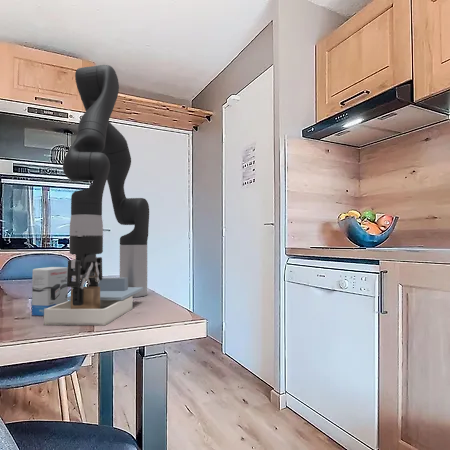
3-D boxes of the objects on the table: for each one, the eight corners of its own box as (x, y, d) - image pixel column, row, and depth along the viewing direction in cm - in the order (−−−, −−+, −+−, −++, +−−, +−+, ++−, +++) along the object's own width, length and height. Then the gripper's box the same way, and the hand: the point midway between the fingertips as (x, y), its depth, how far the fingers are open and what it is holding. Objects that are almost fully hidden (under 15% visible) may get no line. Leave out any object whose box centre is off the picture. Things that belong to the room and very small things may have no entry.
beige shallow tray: (82, 308, 103) (82, 295, 104) (132, 308, 103) (132, 295, 103) (43, 324, 84) (44, 309, 84) (105, 325, 83) (105, 309, 83)
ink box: (47, 316, 93) (48, 269, 94) (30, 315, 94) (31, 268, 95) (68, 310, 101) (69, 266, 102) (52, 309, 102) (53, 266, 103)
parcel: (80, 315, 92) (80, 286, 92) (100, 315, 91) (100, 286, 92) (70, 319, 87) (70, 289, 87) (91, 319, 86) (91, 289, 87)
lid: (98, 289, 114) (98, 275, 115) (143, 289, 114) (143, 275, 114) (67, 300, 94) (67, 283, 95) (121, 300, 94) (121, 283, 94)
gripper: (84, 234, 97) (83, 297, 96) (56, 234, 83) (55, 307, 82) (112, 234, 97) (111, 297, 96) (89, 233, 83) (88, 307, 82)
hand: (85, 302), depth 89 cm, fingers open, 8 cm apart
